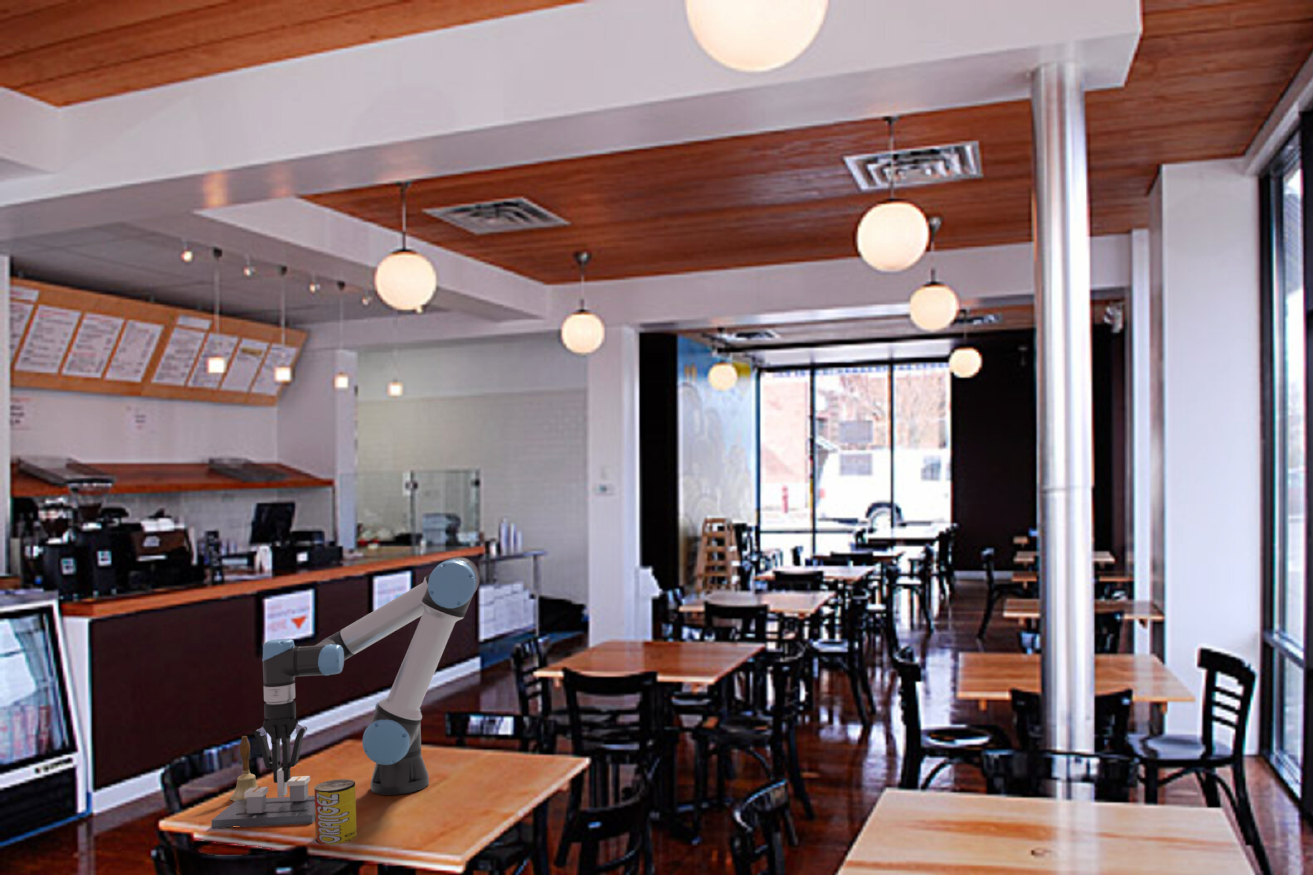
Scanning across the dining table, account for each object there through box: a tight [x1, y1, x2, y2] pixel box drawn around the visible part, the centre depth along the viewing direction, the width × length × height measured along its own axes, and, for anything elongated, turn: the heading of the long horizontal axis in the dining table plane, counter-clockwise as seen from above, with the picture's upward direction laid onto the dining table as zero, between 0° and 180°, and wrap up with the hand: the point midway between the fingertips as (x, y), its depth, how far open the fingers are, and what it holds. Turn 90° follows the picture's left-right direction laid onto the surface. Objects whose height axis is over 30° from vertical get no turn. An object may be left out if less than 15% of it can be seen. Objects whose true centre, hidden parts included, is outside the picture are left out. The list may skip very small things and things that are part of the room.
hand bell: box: [229, 735, 259, 802], centre depth 269 cm, size 8×8×16 cm
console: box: [211, 795, 315, 830], centre depth 252 cm, size 24×16×2 cm, turn 91°
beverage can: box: [313, 778, 358, 846], centre depth 234 cm, size 9×9×12 cm
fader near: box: [244, 785, 269, 814], centre depth 248 cm, size 4×4×5 cm
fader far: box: [287, 775, 311, 802], centre depth 257 cm, size 4×4×5 cm
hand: (282, 795), depth 256 cm, fingers closed
